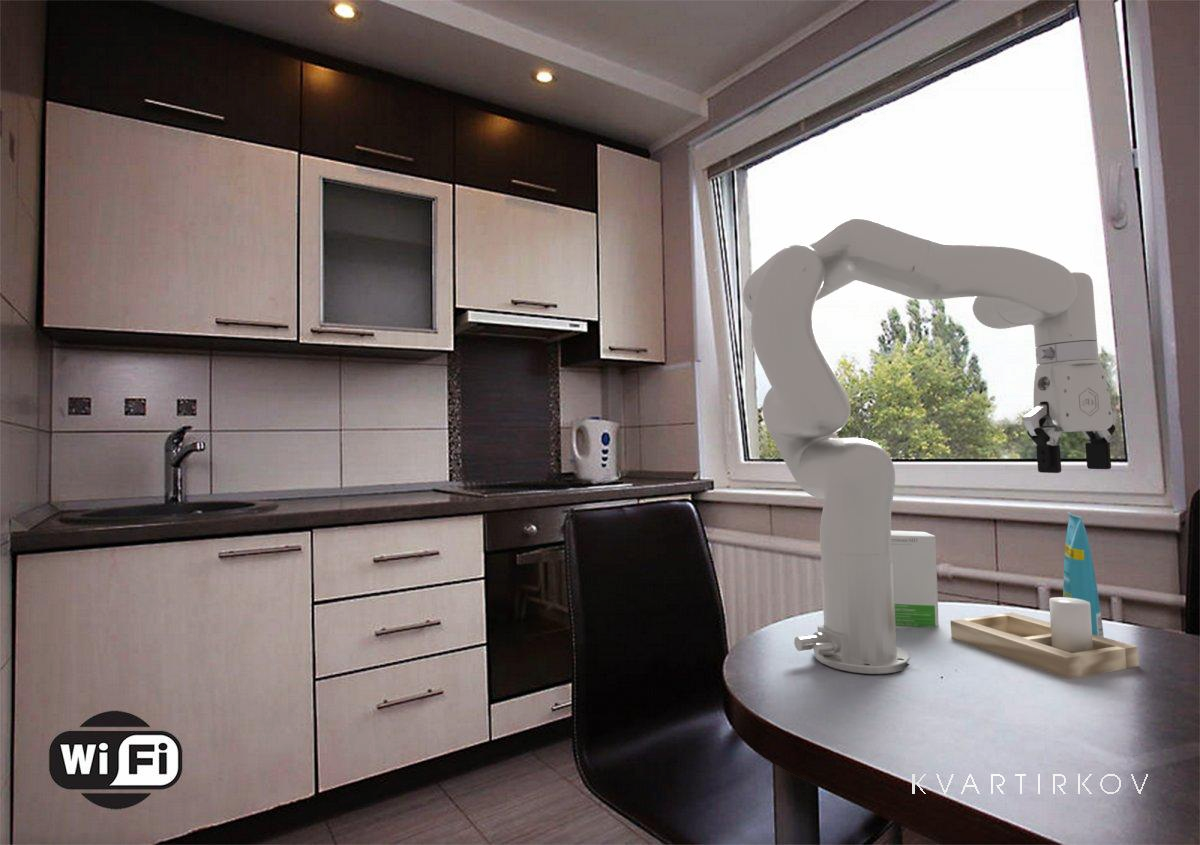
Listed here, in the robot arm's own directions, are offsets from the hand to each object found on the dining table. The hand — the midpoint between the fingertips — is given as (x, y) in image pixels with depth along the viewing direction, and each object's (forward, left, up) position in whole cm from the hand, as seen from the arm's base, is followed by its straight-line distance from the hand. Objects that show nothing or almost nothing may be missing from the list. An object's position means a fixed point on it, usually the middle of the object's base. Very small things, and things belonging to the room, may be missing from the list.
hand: (1074, 470), depth 94 cm
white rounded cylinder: (-11, -7, -25) cm, 28 cm away
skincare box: (-16, +17, -26) cm, 35 cm away
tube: (0, 0, -26) cm, 26 cm away
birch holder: (-11, -2, -26) cm, 28 cm away
